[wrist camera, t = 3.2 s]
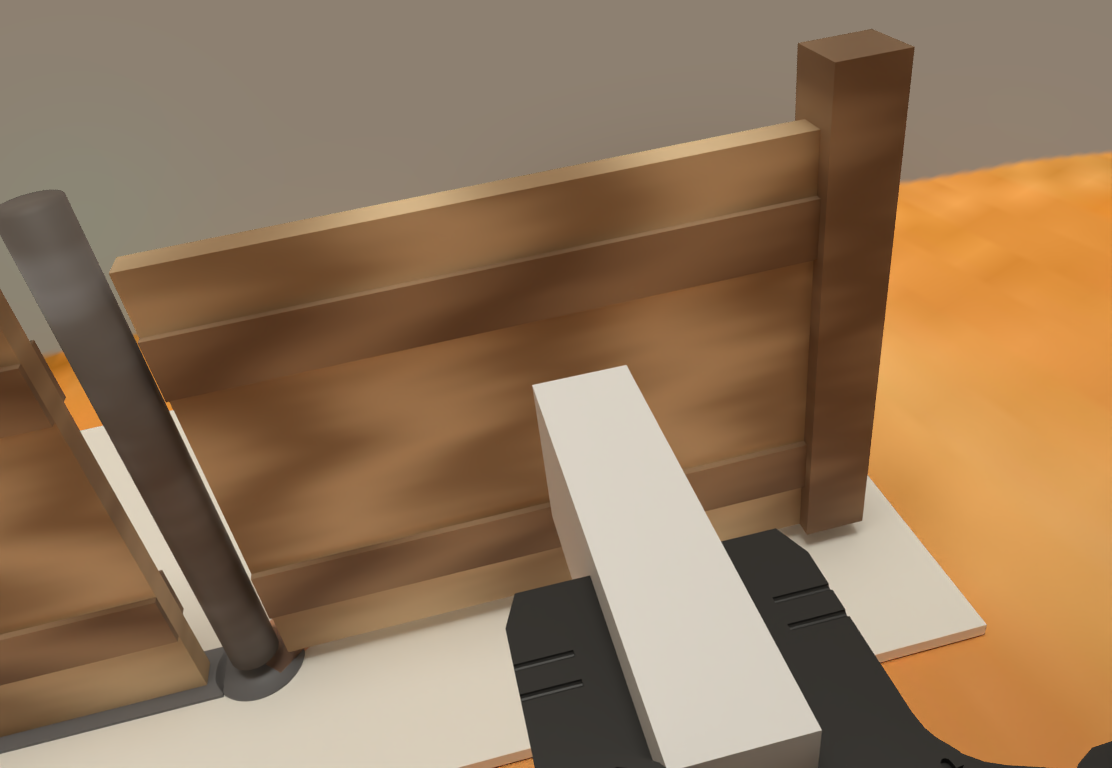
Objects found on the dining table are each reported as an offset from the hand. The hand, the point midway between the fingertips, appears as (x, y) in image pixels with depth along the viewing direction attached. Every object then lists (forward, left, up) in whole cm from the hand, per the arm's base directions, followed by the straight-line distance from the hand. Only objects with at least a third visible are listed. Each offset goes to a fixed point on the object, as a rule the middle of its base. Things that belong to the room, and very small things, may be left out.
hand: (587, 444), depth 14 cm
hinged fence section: (0, -8, -11) cm, 13 cm away
